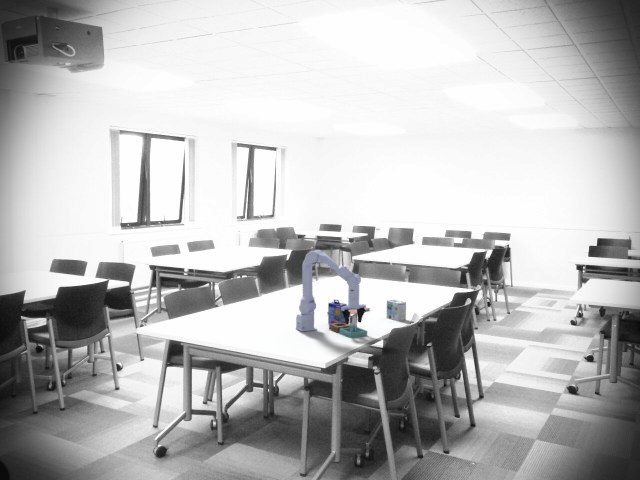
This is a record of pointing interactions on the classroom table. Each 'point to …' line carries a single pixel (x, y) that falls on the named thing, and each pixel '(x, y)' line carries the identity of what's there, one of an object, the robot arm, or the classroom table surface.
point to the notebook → (355, 311)
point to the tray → (354, 334)
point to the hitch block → (338, 326)
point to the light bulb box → (396, 310)
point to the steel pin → (353, 323)
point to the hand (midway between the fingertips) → (353, 322)
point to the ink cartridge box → (335, 312)
